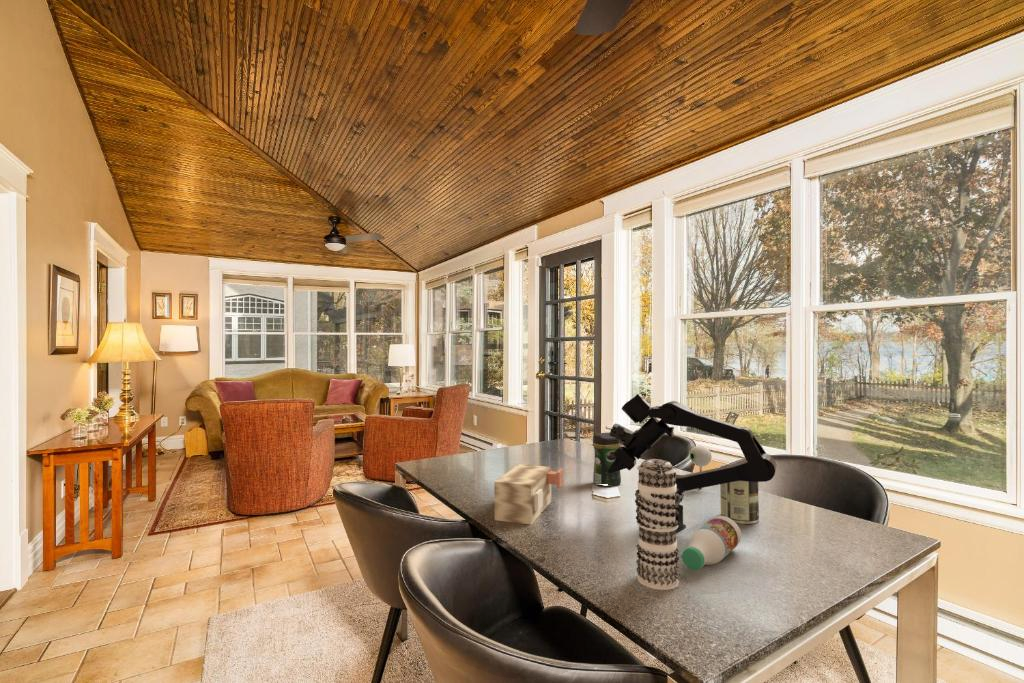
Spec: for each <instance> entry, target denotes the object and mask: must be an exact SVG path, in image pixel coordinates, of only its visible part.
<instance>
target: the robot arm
mask: <svg viewBox="0 0 1024 683" xmlns="http://www.w3.org/2000/svg"><path fill="white" fill-rule="evenodd" d="M621 410H622V411H623V412H624V413H625V414H626V415H627V417H628V418H630V420H632V422H633V423H634V424H638V423H639V424H640V425H641V424H643V423H644V422H645V421H646V422H645V423H644V424H643V425H642V426H641V427H640V428H638V429H636V430H635V431H632V430H630V429H629V428H627V427H625V426H623V425H621V424H619V423H616V422H615V423H614V424H613V425H612V427H611V429H610V431H609V432H610V433H609V432H608V433H609V435H610V436H611V437H615V438H617V439H619V440H620V441H622V446H621V445H620V447H619V448H618V449H617V450H616V451H615V452H614V453H613V454H614V456H615V457H616V459H615V460H614V462H613V463H612V465H611V466H610V468H609V469H608V472H609V473H610V474H611V473H614V472H617V471H619V470H620V471H622V470H626V469H627V470H628V471H631V470H632V469H634V467H635V466H636V464H637V460H639V459H641V457H642V456H643V455H644V454H645V453H646V452H648V451H649V450H650V449H651V448H652V447H653V446H654V445H655V444H656V443H657V442H658V441H660V439H661V438H662V437H663V436H665V435H667V436H668V437H669V438H673V437H674V435H675V433H674V432H675V431H674V430H675V427H674V426H677V427H689V428H693V429H696V430H700V431H703V432H706V433H707V434H711V435H714V436H717V437H720V438H723V439H727V440H729V441H732V442H735V443H737V445H738V446H739V447H740V450H741V452H742V455H743V456H744V458H745V459H744V460H741V461H739V462H736V463H735V464H729V466H725V465H724V466H725V467H721V466H720V467H715V468H711V469H707V470H706V469H705V470H702V471H701V472H700V471H696V472H692V473H687V474H677V471H676V472H675V473H676V474H675V475H676V485H677V488H678V489H679V490H678V492H677V491H676V493H678V494H679V495H680V498H679V499H677V500H676V499H675V502H676V503H678V504H679V508H677V509H676V510H677V511H678V512H679V513H680V514H679V515H678V516H676V517H675V519H676V520H677V521H678V522H679V524H678V528H677V529H676V534H677V533H678V532H680V531H681V530H683V529H685V528H686V527H687V525H686V524H685V523H684V505H682V504H680V503H682V502H683V500H684V496H685V494H683V493H684V492H689V491H693V490H698V489H700V488H702V489H704V488H709V487H713V486H718V485H719V486H720V484H725V483H730V482H735V481H747V482H758V483H766V482H768V481H772V479H774V476H775V475H776V472H777V468H778V466H777V462H776V460H775V458H774V457H773V456H771V455H769V454H768V453H767V452H766V451H765V449H764V448H763V446H762V445H761V443H760V442H759V441H758V439H757V438H756V437H755V435H754V433H753V431H752V430H751V429H750V428H748V427H745V426H739V425H736V424H734V423H730V422H726V421H724V420H721V419H718V418H714V417H712V416H708V415H705V414H702V413H699V412H697V411H695V410H693V409H691V408H690V407H688V406H687V405H685V404H684V403H683V404H682V403H681V402H678V401H676V400H672V401H669V402H666V403H664V404H662V405H661V406H658V405H655V406H652V405H650V403H649V402H648V401H647V400H646V399H645V397H644V396H643V395H642V394H641V393H637V394H635V396H633V397H632V398H631V399H629V400H628V401H626V402H625V403H624V405H622V407H621ZM647 419H648V420H647ZM669 425H671V426H669Z"/></svg>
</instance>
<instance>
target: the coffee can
mask: <svg viewBox="0 0 1024 683" xmlns="http://www.w3.org/2000/svg"><path fill="white" fill-rule="evenodd" d="M729 465H730V464H729ZM729 465H728V464H727V465H721V466H720V467H725V466H729ZM719 490H720V494H719V495H720V496H719V497H720V515H719V516H725V517H728V518H730V519H732V520H733V521H734V522H735V523H736V524H741V525H742V524H743V525H744V524H745V525H752V524H758V523H759V522H760V506H759V505H760V504H759V503H760V501H759V499H760V498H759V482H747V481H735V482H730V483H725V484H719Z"/></svg>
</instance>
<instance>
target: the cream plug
mask: <svg viewBox="0 0 1024 683" xmlns="http://www.w3.org/2000/svg"><path fill="white" fill-rule="evenodd" d="M542 506H543V489H539V490H538V491H537V492H535V493H534V494H533V507H535V511H539V510H540V509H541V507H542Z"/></svg>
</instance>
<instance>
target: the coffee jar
mask: <svg viewBox="0 0 1024 683" xmlns="http://www.w3.org/2000/svg"><path fill="white" fill-rule="evenodd" d="M609 433H610V431H609V432H599V433H594V434H593V437H592V438H593V440H592V445H593V446H592V447H593V449H594V464H593V465H594V466H593V473H592V474H593V478H592V479H593V480H592V482H593V483H594V484H595V485H596V484H608V485H614V486H618V485H620V484H622V478H621V477H622V476H621V470H619V471H617V472H614V473H611V474H610V473H609V472H608V469H609V468H610V466H611V465H612V463H613V462H614V460H615V459H616V457H615V456H614V454H613V453H614V452H615V451H616V450H617V449H618V448H619V447H620V446H621V442H620V441H621V440H619V439H617V438H615V437H611V436H610V435H609Z"/></svg>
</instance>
